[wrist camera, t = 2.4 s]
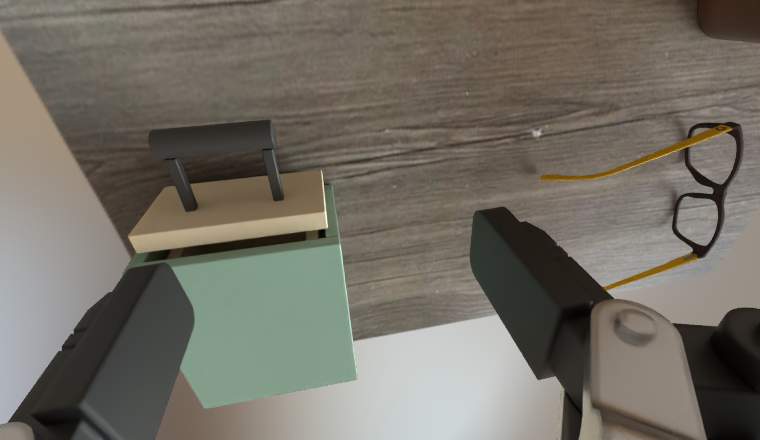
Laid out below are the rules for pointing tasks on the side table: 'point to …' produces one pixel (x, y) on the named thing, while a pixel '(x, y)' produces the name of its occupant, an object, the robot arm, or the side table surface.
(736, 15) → the stand
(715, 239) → the eyeglasses
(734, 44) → the side table surface
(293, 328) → the cabinet
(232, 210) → the drawer
